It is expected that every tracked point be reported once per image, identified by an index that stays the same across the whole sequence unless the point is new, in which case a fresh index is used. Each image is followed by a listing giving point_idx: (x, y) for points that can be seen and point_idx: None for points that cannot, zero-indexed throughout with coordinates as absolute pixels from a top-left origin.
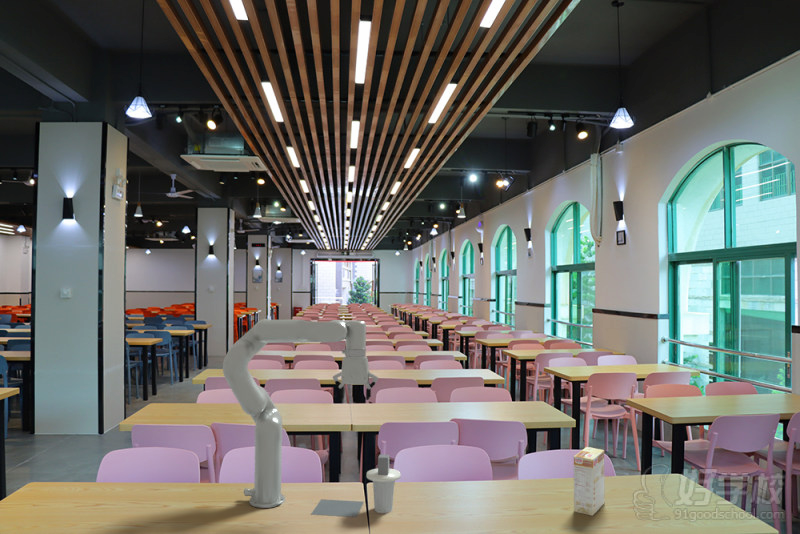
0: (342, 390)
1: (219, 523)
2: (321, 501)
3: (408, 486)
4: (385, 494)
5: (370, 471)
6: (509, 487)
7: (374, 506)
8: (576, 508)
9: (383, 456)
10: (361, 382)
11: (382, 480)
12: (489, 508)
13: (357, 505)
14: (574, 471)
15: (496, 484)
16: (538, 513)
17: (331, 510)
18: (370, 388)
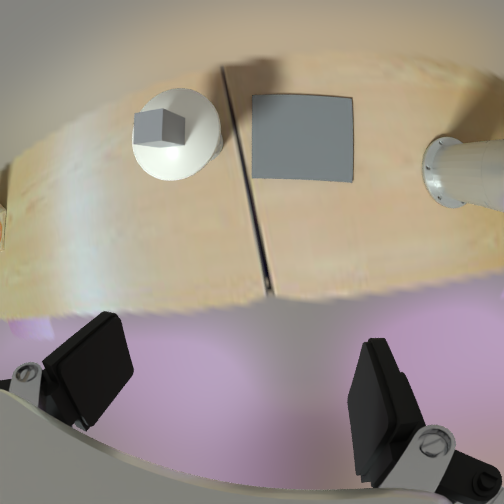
0: (390, 407)
1: (476, 81)
2: (348, 169)
3: (178, 285)
4: None
5: (209, 141)
6: (52, 286)
7: (220, 137)
8: (2, 209)
9: (148, 123)
10: (6, 414)
11: (171, 90)
12: (58, 197)
13: (262, 153)
14: None
15: (65, 298)
16: (24, 195)
17: (314, 120)
18: (24, 365)
